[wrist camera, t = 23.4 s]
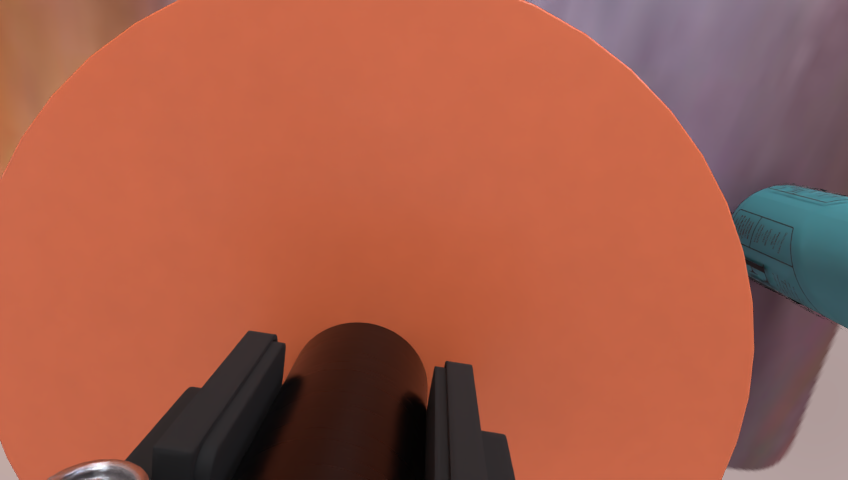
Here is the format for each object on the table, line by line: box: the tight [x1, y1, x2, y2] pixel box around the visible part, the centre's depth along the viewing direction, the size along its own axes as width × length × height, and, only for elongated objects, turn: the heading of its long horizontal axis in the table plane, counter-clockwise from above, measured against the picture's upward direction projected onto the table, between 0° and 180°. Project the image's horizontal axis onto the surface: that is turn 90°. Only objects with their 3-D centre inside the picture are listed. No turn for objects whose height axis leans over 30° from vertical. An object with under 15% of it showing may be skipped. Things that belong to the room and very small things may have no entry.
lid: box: [0, 0, 754, 480], centre depth 10 cm, size 17×17×8 cm
